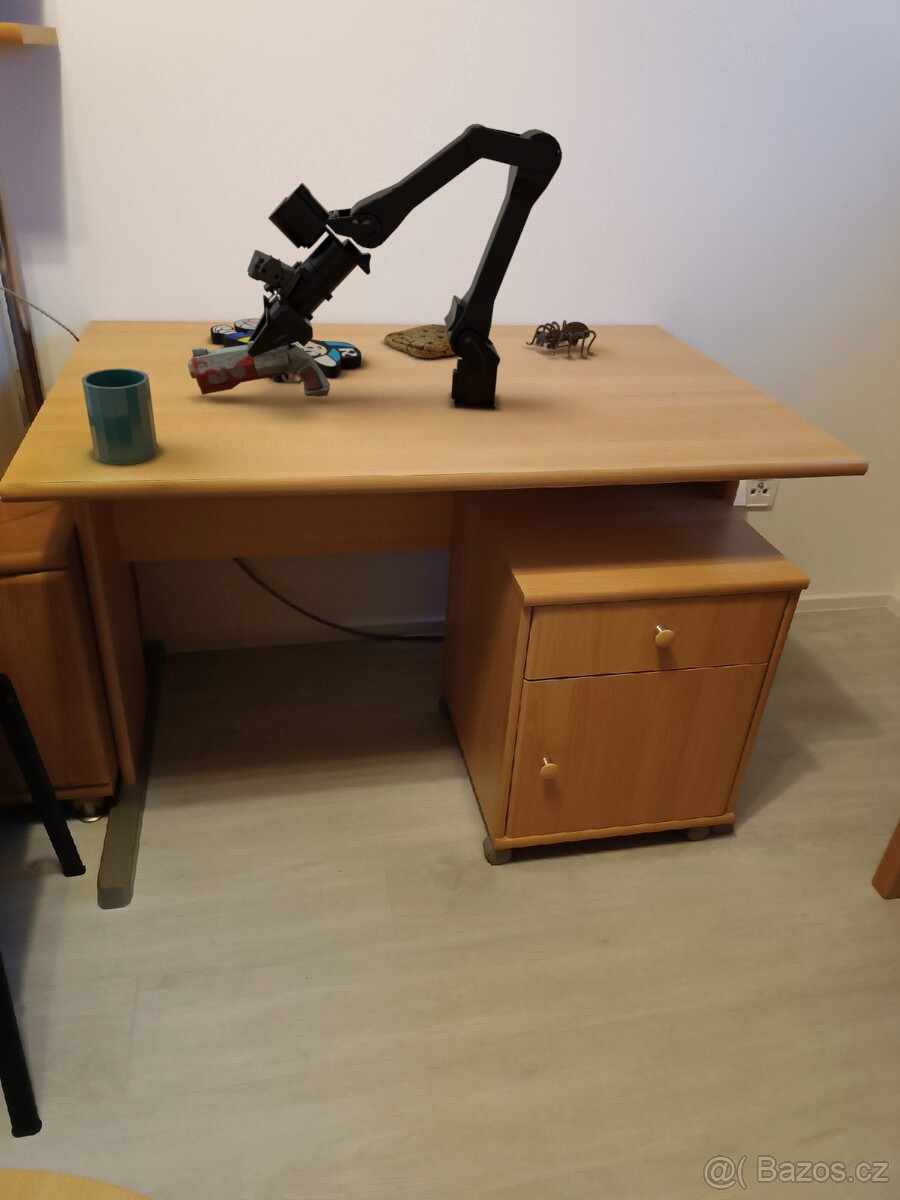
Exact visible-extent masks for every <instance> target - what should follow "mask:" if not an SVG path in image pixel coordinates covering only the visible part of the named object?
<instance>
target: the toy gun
mask: <svg viewBox="0 0 900 1200" xmlns="http://www.w3.org/2000/svg"><path fill="white" fill-rule="evenodd" d="M253 342H254V341H250V342H248V345H242V346H235V347H228V348H224V347H222V348H221V347H220V348H217V349H216V348H215V349H211V350H208V348H207V347H192V349H191V352H192V356H191V358H190V359H188V361H187V366H188V372H189V375H190V377H191V379H196V383H197V385H198V387H199V390H200V392H201V395H202V396H203V395H207V394H213V393H218V392H225V391H230V390H233V389H234V388H235V387H237V386H238V385H240V384H241V383H248V382H253V381H258V380H262V379H270V378H269V377H274V376H280V375H281V377H282V379H283V381H284V382H283V383H285V384H296V385H300V384H301V383H302V385H303V392H304V395H305V396H306V397H318V398H320V397H327V396H329V393H330V388H331V383H330V381H329V380H328V378H327V377H325V375H324V374H323V372H322V371H321V369H320V368H319V366H318V365H317V364H316V362H315V361H314V359H313V358H312V356H311V355H310V354H308V353H307V352H305V351H304V350H303V349H301V348H300V347H298V346H297V345H295V344H293V343H296V342H293V343H290V344H287V345H284V346H281V347H279V348H276V349H273V350H271V351H268V352H266V353H263V354H261V355H258V356H256V357H251V356H250V355H249V354H248V350H249V348H250V347H251V345H252V343H253ZM292 344H293V345H292ZM284 372H285V373H286V374H288V375H289V374H292V375H293V378H292V379H288V380H287V379H286V377H285V374H284ZM295 372H296V374H295ZM296 375H297V377H299V379H298V380H296V379H295V378H296Z"/></svg>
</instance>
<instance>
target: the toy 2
mask: <svg viewBox="0 0 900 1200" xmlns="http://www.w3.org/2000/svg"><path fill="white" fill-rule="evenodd" d="M540 329H542V330H540ZM546 330H547V331H546ZM591 334H592V335H593V337H592V339H590V342H589V344H588V346H587V348H586V353H587V355H589V356H591V355H592V356H593V354H594V352H593V351H590V349H591V348H592V344H593V343H594V341H595V340H596V338H597V333H596V331H594V330H592V329H589V326H588V325H586V324H585V323H584V322H580V321H571V322H568V321H567V320H566V319H564V320H563V321H562V326H561V327H560V324H559V323H558V322H557V321H555V320H554V321H553V320H552V322H551V323H550V322H547V323H545V324H539V325H538V326H537V328H536V330H535V333H534V335H533V337H532V340H531V341H530V342H528V341H526V342H525V344H526V345H527V346H533V345H534V344H535V346H539V347H540V348H544V346H545V343H546V346H545V347H546V349H547V350H553V351H552V353H551V356H552V357H553V356H555V355H556V353H557V352H556V351H557V349H559V348H566V347H567V352H566V356H567V358H572V357H573V355H572V354H571V347H572V346H573V347H576V346H577V345H578V344H579V340H582V341H581V347H580V353H579V356H580V357H581V359H587V358H588V356H587V355H584V348H585V342H586V339H588V338H590V336H591ZM564 342H567V344H562V345H560V343H564Z"/></svg>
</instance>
